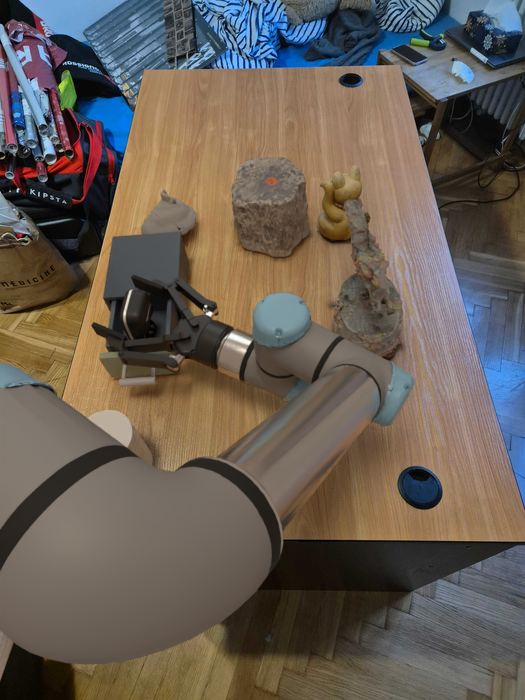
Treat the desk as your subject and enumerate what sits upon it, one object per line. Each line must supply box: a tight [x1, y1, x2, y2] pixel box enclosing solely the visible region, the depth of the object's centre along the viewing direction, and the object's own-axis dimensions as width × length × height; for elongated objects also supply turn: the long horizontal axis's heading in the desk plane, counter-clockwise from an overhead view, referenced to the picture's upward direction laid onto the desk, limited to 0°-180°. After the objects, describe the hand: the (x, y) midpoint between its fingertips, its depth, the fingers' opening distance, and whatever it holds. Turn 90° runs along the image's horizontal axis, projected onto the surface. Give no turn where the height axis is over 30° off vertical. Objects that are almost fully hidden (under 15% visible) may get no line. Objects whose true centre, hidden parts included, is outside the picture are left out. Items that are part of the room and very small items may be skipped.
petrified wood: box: [231, 156, 311, 258], centre depth 98 cm, size 19×17×15 cm
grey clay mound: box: [140, 188, 198, 236], centre depth 101 cm, size 12×12×11 cm
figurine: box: [331, 200, 404, 359], centre depth 79 cm, size 20×13×25 cm, turn 177°
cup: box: [87, 409, 154, 466], centre depth 71 cm, size 8×8×12 cm
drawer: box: [99, 296, 182, 388], centre depth 84 cm, size 19×12×7 cm, turn 3°
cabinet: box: [102, 231, 189, 322], centre depth 92 cm, size 16×14×9 cm
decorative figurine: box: [316, 164, 363, 243], centre depth 96 cm, size 10×8×15 cm
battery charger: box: [120, 290, 157, 340], centre depth 82 cm, size 7×4×11 cm, turn 176°
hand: (115, 303), depth 81 cm, fingers open, 11 cm apart
